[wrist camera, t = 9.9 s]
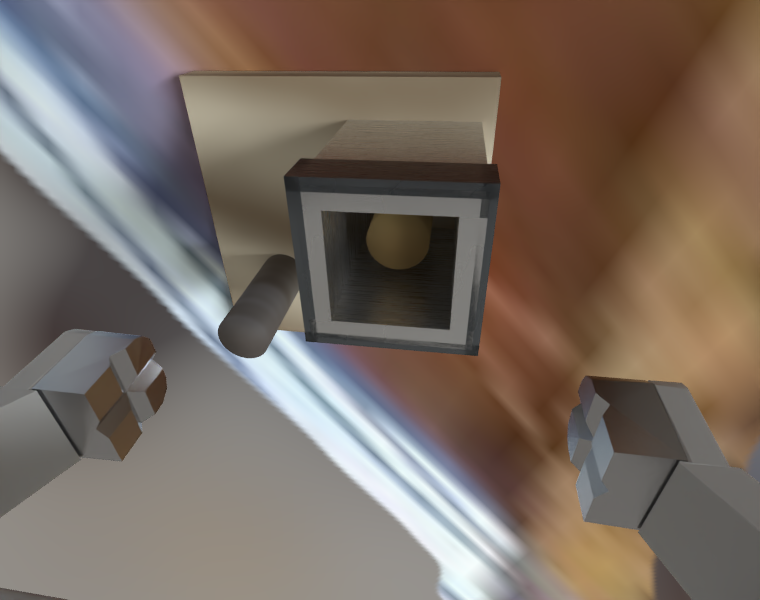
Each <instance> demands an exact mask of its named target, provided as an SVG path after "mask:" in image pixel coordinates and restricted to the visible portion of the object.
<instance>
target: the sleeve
mask: <svg viewBox="0 0 760 600" xmlns="http://www.w3.org/2000/svg"><path fill="white" fill-rule="evenodd" d="M284 184H285V191H286V198H287V206H288V213H289V220H290V228H291V235H292V242H293V250H294V257H295V264H296V272H297V279H298V286H299V293H300V301H301V308H302V315H303V323H304V330H305V337H306V341H308V342H320V343H332V344H343V345H355V346H367V347H379V348H391V349H403V350H414V351H426V352H438V353H450V354H462V355H474V356H478V350H479V342H480V335H481V327H482V320H483V312H484V305H485V297H486V289H487V282H488V274H489V267H490V259H491V251H492V244H493V236H494V229H495V221H496V214H497V206H498V198H499V191H500V179H499V173H498V167H497V164H487V156H486V148H485V140H484V132H483V124H482V122H455V121H399V120H347V122H346V123H345V124H344V125H343V126H342V127H341V128H340V130H339V131H338V132H337V133H336V134H335V135H334V137H333V138H332V139H331V140H330V141H329V142H328V143H327V145H326V146H325V147H324V148H323V149H322V150H321V151H320V153H319V154H318V155H317V156H316V157H315V158H314V159H310V158H300V159H299V160H298V161H297V162H296V164H295V165H294V166H293V167H292V168H291V169H290V170H289V171H288V172H287V173H286V174H285V175H284ZM369 213H381V214H403V215H425V216H447V217H455V227H454V229H451V228H432V229H431V236H430V244H429V249H428V252H427V254H426V256H425V258H424V259H423V260H422V261H421V262H420V263H418V264H417V265H415V266H413V267H411V268H408V269H391V268H388V267H385V266H383V265H382V264H380V263H379V262H377V261H376V260H375V259H374V258H373V257H372V255H371V254H370V252H369V250H368V247H367V242H366V236H367V232H368V229H369V226H370V215H369Z"/></svg>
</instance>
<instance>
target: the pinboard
mask: <svg viewBox="0 0 760 600" xmlns="http://www.w3.org/2000/svg"><path fill="white" fill-rule="evenodd" d="M179 78H180V82H181V86H182V91H183V95H184V99H185V103H186V108H187V112H188V116H189V120H190V125H191V129H192V133H193V137H194V141H195V146H196V150H197V154H198V158H199V163H200V167H201V171H202V175H203V180H204V184H205V188H206V192H207V196H208V201H209V205H210V209H211V213H212V218H213V222H214V226H215V230H216V235H217V239H218V243H219V247H220V251H221V256H222V260H223V264H224V268H225V273H226V277H227V281H228V285H229V290H230V294H231V298H232V302H233V307H232V309H231V310H230V311H229V313H228V314H227V316H226V317H225V318H224V320H223V321H222V323H221V324H220V326H219V328H218V336H219V339H220V341H221V343H222V344H223V345H224V347H225V348H226V349H228V350H229V351H230V352H232V353H233V354H235V355H238V356H240V357H244V358H256V357H259V356H261V355H262V354H264V353H265V351H266V350H267V348H268V346H269V344H270V343H271V341H272V339H273V337H274V335H275V333H276V332H277V330H285V331H297V332H305V330H304V323H303V315H302V308H301V301H300V293H299V286H298V279H297V272H296V264H295V257H294V250H293V242H292V235H291V228H290V220H289V213H288V206H287V198H286V191H285V184H284V175H285V174H286V173H287V172H288V171H289V170H290V169H291V168H292V167H293V166H294V165H295V164H296V162H297V161H298V160H299V159H300V158H310V159H314V158H315V157H316V156H317V155H318V154H319V153H320V151H321V150H322V149H323V148H324V147H325V146H326V145H327V143H328V142H329V141H330V140H331V139H332V138H333V137H334V135H335V134H336V133H337V132H338V131H339V130H340V128H341V127H342V126H343V125H344V124H345V123H346V122H347V120H399V121H455V122H482V124H483V132H484V140H485V148H486V156H487V164H491V161H492V153H493V144H494V136H495V127H496V119H497V110H498V101H499V93H500V84H501V75H500V73H499V72H335V71H192V72H189V73H186V74H183V75H180V76H179ZM369 215H370V226H369V229H368V232H367V236H366V242H367V247H368V250H369V252H370V254H371V255H372V257H373V258H374V259H375V260H376V261H377V262H379V263H380V264H382V265H383V266H385V267H388V268H391V269H408V268H411V267H413V266H415V265H417V264H418V263H420V262H421V261H422V260H423V259H424V258H425V256H426V254H427V252H428V249H429V244H430V236H431V229H432V228H451V229H454V227H455V217H447V216H425V215H403V214H381V213H369Z"/></svg>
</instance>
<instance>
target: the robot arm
mask: <svg viewBox="0 0 760 600" xmlns="http://www.w3.org/2000/svg"><path fill="white" fill-rule="evenodd" d="M155 353H156V351H155V349H154V347H153V344H152V342H151V340H150V339H148V338H146V337H143V336H136V335H128V334H119V333H110V332H102V331H88V330H80V329H73V330H70V331H66V332H64V333H63V334H62V335H61V336H59V337H58V338H57V339H56V340H55V341H54V342H53V343H52V344H50V345H49V346H48V347H47V348H46V349H45V350H44V351H43V352H42V353H40V354H39V355H38V356H37V357H36V358H35V359H34V360H33V361H31V362H30V363H29V364H28V365H27V366H26V367H25V368H24V369H22V370H21V371H20V372H19V373H18V374H17V375H16V376H15V377H14V378H12V379H11V380H10V381H9V382H8V383H7V384H6V385H5V386H4V387H1V386H0V517H2V516H3V515H5V514H6V513H7V512H9V511H10V510H11V509H13V508H14V507H16V506H17V505H18V504H20V503H21V502H23V501H24V500H25V499H27V498H28V497H30V496H31V495H32V494H34V493H35V492H36V491H38V490H39V489H41V488H42V487H43V486H45V485H46V484H47V483H49V482H50V481H52V480H53V479H55V478H56V477H57V476H59V475H60V474H62V473H63V472H64V471H66V470H67V469H68V468H70V467H71V466H73V465H74V464H75V463H77V462H78V461H79V460H80V457H83V458H93V459H103V460H113V461H123V459H124V458H125V456H126V455H127V454H128V452H129V451H130V449H131V448H132V447H133V445H134V444H135V442H136V441H137V439H138V438H139V437H140V435H141V434H142V424H141V423H142V422H143V421H145V420H147V419H148V418H150V417H151V416H153V415H155V414H156V412H157V411H158V409H159V408H160V406H161V405H162V403H163V400H164V397H165V393H166V390H167V384H166V376H165V373H164V371H163V368H162V367H160V366H159V365H158V364H157V363H156V362H155V361H153V360H152V359H153V357H154V355H155ZM578 393H579V397H580V401H581V404H579V405H578V406H576V407H575V408H573V409H572V412H571V416H570V419H569V424H568V449H569V454H570V459H571V462H572V463H573V464H574V465H575V467H576V468H577V469H578V470H579V471H580V475H579V477H578V480H577V483H576V488H577V493H578V497H579V502H580V506H581V511H582V515H583V520H584V521H585V522H591V523H597V524H604V525H610V526H617V527H623V528H629V529H636V530H639V532H638V533H639V534H640V535H641V537H642V538H643V539H644V540H645V542H646V543H647V544H648V545H649V547H650V548H651V549H652V550H653V552H654V553H655V554H656V555H657V557H658V558H659V559H660V560H661V562H662V563H663V564H664V565H665V567H666V568H667V569H668V570H669V572H670V573H671V574H672V575H673V576H674V578H675V579H676V580H677V582H678V583H679V584H680V585H681V587H682V588H683V589H684V590H685V592H686V593H687V594H688V595H689V597H690V598H691V599H692V600H760V483H759V482H758V481H757V480H755V479H754V478H753V477H751V476H750V475H749V474H748V473H746V472H745V471H744V470H742V469H741V468H735V467H730V466H729V464H728V462H727V461H726V459H725V457H724V455H723V453H722V451H721V449H720V447H719V446H718V444H717V442H716V440H715V438H714V436H713V434H712V433H711V431H710V429H709V427H708V425H707V423H706V421H705V420H704V418H703V416H702V414H701V412H700V410H699V408H698V407H697V405H696V403H695V401H694V399H693V397H692V395H691V394H690V392H689V390H688V388H687V387H686V386H685V385H683V384H682V383H676V382H663V381H650V380H649V381H645V380H634V379H621V378H609V377H597V376H585V377H584V379H583V380H582V382H581V384H580V387H579V390H578ZM0 600H67V599H61V598H55V597H50V596H44V595H39V594H33V593H27V592H22V591H16V590H10V589H5V588H0Z"/></svg>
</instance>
